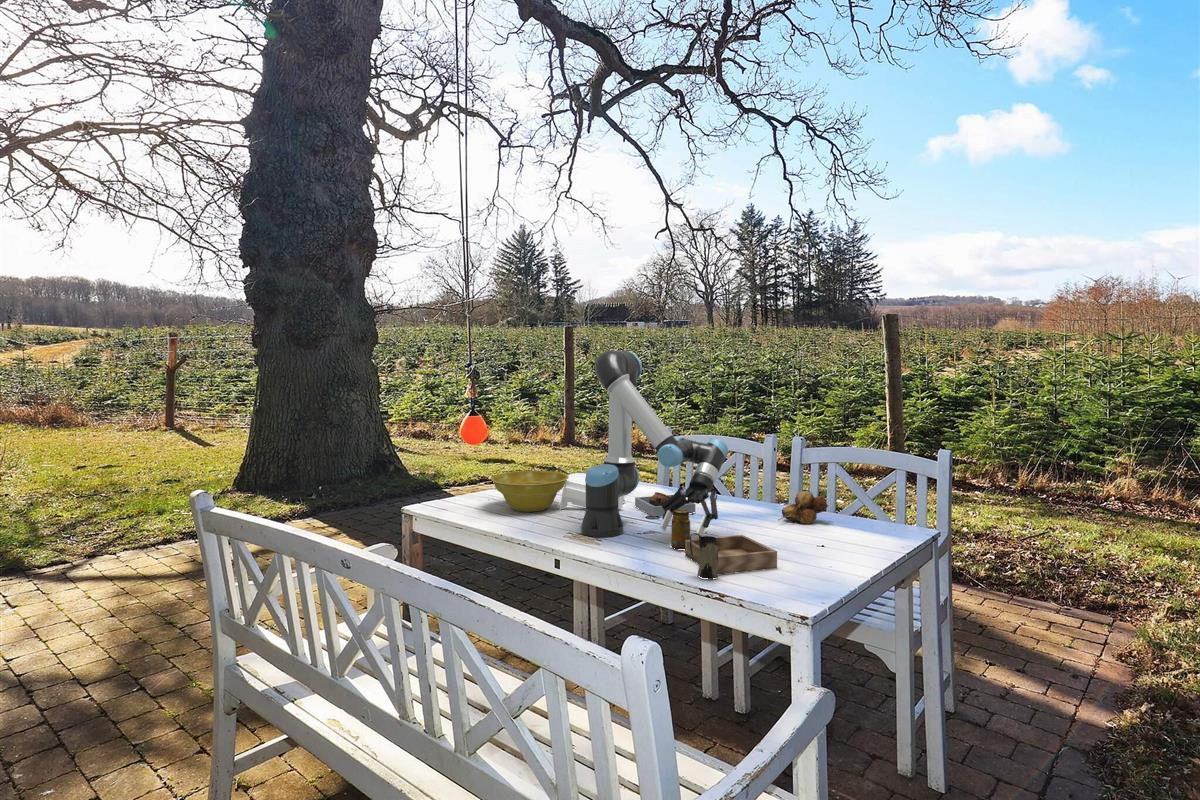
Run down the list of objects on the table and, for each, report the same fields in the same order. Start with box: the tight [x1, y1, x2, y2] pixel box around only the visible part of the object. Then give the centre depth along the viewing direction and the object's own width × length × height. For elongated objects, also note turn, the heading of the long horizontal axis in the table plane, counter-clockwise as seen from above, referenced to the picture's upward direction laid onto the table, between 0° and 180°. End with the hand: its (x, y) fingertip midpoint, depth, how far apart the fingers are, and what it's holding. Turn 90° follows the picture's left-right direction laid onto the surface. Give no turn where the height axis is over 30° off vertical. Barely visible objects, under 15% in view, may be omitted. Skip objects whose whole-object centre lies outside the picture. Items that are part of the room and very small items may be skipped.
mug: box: [690, 532, 719, 579], centre depth 190 cm, size 8×6×12 cm
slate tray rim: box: [634, 494, 696, 517], centre depth 275 cm, size 18×20×4 cm
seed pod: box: [777, 490, 829, 525], centre depth 253 cm, size 13×16×15 cm
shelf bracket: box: [559, 479, 626, 510], centre depth 277 cm, size 6×25×13 cm, turn 84°
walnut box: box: [684, 534, 778, 575], centre depth 204 cm, size 20×20×5 cm
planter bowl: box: [490, 469, 570, 513], centre depth 280 cm, size 32×32×13 cm
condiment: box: [667, 510, 691, 553], centre depth 219 cm, size 7×8×12 cm
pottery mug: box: [649, 491, 670, 506], centre depth 275 cm, size 12×10×8 cm
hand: (680, 532), depth 218 cm, fingers open, 13 cm apart
